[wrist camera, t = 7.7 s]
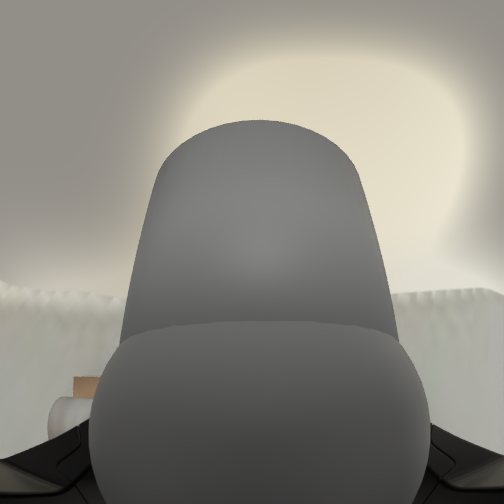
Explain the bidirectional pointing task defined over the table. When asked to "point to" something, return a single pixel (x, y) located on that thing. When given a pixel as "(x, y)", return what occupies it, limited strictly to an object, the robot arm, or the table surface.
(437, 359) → the table surface
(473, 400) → the table surface
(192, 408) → the elbow
